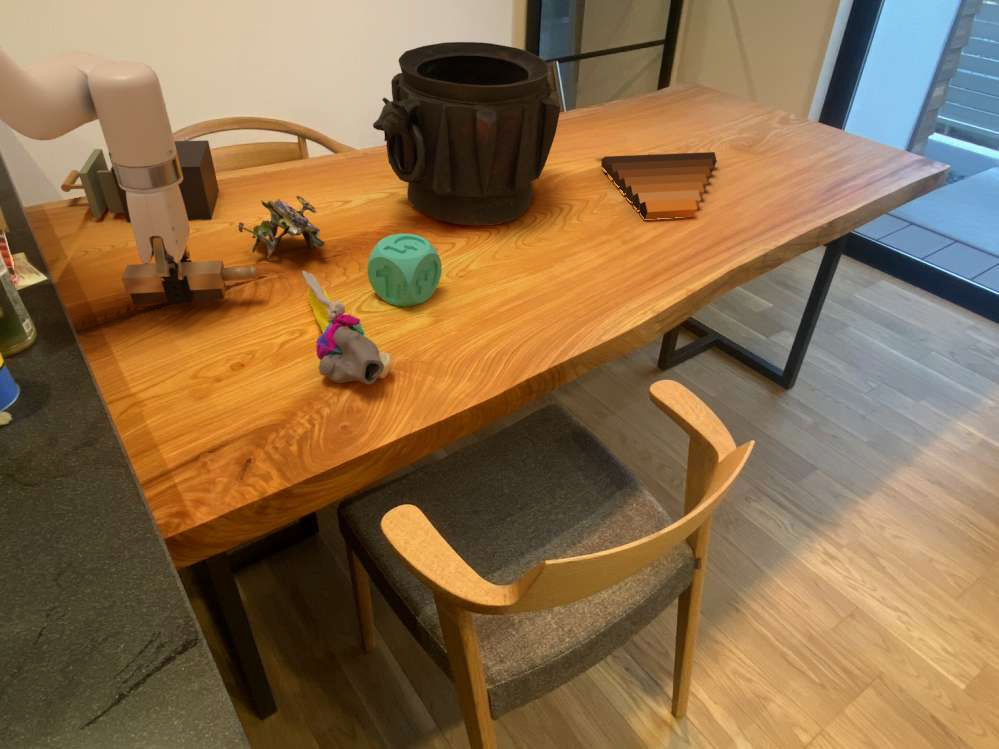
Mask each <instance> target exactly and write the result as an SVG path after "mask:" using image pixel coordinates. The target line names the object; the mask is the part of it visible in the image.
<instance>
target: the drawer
mask: <svg viewBox="0 0 999 749" xmlns="http://www.w3.org/2000/svg"><path fill="white" fill-rule="evenodd" d="M108 156H109V160H110V163H111V167H112V166H113V164H112V161H111V157H110V154H109V153H108ZM78 179H79V180H80V182H81V183H78V184H77V181H78ZM60 189H61V190H62V192H65V193H69V192H71V191H72V190H83V191H84V194H85V197H86V200H87V203H88V206H89V209H90V211H91V214H92V218H102V216H103V215H104V213H105V211H106V209H107V208H108V211H109V213H110V214H125V213H124V209H123V206H122V203H121V200H120V197H119V193H118V190H117V187H116V184H115V181H114V178H113V174H112V171H111V169H109V167H108V164H107V161H106V157H105V155H104V152H103V149H102V148H94V149H93V150H92V152H91V153H90V155H89V156H88V158H87V159H86V162H84V164H83V165H82V167H81V169H79V171H78V170H76V169H72V170H70V172H69V174H68V175H67V176H66V178H65V180H64V181H63V182H62V184H61V185H60Z"/></svg>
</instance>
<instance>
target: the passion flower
mask: <svg viewBox="0 0 999 749" xmlns="http://www.w3.org/2000/svg"><path fill="white" fill-rule="evenodd" d="M296 199H297V200H298V202H299V203H300V204H301V205H302V207H301V210H296V209H295V208H293V207H292V206H291V205H289V204H288V202H284V201H282V200H280V199H279V198H277V199H276V200H274V201H273V200H268V201H267V202H265V200H264V198H263V197H262V198H261V199H260V201H261V205H262V206H263V207H264V208H265V209H267V210H268V211H269V213H270V220H262V221H261V223H260V225H255V226H254V227H253V230H251V229H248V228H246V227H244V226H245V223H244V222H241V221H240V222H238V231H239V232H240V233H243V230H244V231H247V232H249V233H251V234H252V236H251V238H252V239H256V240H255V243H254V244H253V246H252V254H253V253H255V251H256V249H257V247H258V246H259V245H260V243H261V242H262V241H265V242H266V249H267V257H266V259H265V261H266V262H268V261H269V260H270V257H271V255H272V254H273V253H274V252H275V251H276V250H277V249H278V247H279V243H280V241H281V240H282V238H283V237H284V236H285V235H287V234H288V235H289V236H290V237H292V238H293V237H294V236H295V237H296V236H300V235H302V237H303V239H304V241H305V244H306V245H307V246H308V248H310V249H312V250H315V251H318V250H319V248H318V247H323V246H324V245H325V243H326V242H325V241H323V240H322V239H320V235H321V229H320V228H318V227H316V226H314V224H312V223H311V222H310V220H309V218H308V217H306V216H305V215H304V212H306V211H310V212H311V213H314V214H315V213H318V211H317V210H316V208H315V207H314V206H313V205H312V204H311V202H309V201H307V200H306V199H305V198H303V197H301V196H300V195H296ZM278 228H280V229H282V230H283V231H282V232H281V233H280V235H278V236H277V233H278V230H279V229H278ZM276 236H277V237H276ZM266 237H268V239H267V238H266ZM269 239H270V240H269ZM317 246H318V247H317Z"/></svg>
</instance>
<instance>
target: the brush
mask: <svg viewBox="0 0 999 749" xmlns="http://www.w3.org/2000/svg"><path fill="white" fill-rule="evenodd" d="M168 266H169V267H170V268H174V269H176V268H175V263H173V264H168ZM181 266H182V270H183V275H184V276H187V280H188V283H189V287H190V291H191V294H192V298H193V299H192V302H201V301H215V300H216V301H219V300H225V296H226V290H227V286H226V282H230V281H231V282H232V281H247V280H248V281H249V280H256V279H258V278H259V276H260V271H259V268H257V267H256V266H237V267H236V266H235V267H234V266H233V267H225V265H224V260H223V259H221V260H220V259H219V260H217V259H216V260H202V261H201V260H199V261H192V262H181ZM121 282H122V283H123V287H124V290H125V293H126V294H127V295H130V297H131V300H132V304H133V305H134V306H135V305H149V304H150V305H151V304H163V303H166V304H167V303H168V301H167V298H166V295H165V291H164V288H163V285H162V281H161V279H160V277H158V276H157V273H156V265H155V263H150V264H147V265H145V264H143V263H135V264H127V265H126V267H125V269H124V272H123V274H122V276H121ZM168 304H169V303H168Z"/></svg>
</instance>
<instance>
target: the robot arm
mask: <svg viewBox="0 0 999 749" xmlns="http://www.w3.org/2000/svg"><path fill="white" fill-rule="evenodd" d="M157 74H158V73H157V72H156V71H155V70H154V69H153V68H152V67H150V66H149V65H147V64H145V63H142V62H138V61H129V60H123V61H122V60H120V61H119V60H118V61H115V60H111V59H108V58H105V57H102V56H100V55H97V54H93V53H91V52H87V51H80V50H71V51H66V52H62V53H60V54H57V55H54V56H52V57H49V58H46V59H45V58H44V59H42V60H40V61H36V62H35V63H32V64H30V65H26V66H24V67H21V65H19V64H18V63H17V62H16V61H15V60H14V59H13V58H12V57H11V56H10V55H9V54H8V53H7V52H6V51H5V50H4V49H3V48H2V47H1V46H0V121H2V122H3V123H4V124H5V125H6V126H8V127H9V128H10V129H12V130H14V131H15V132H16V133H18V134H20V135H22V136H24V137H26V138H29V139H31V140H36V141H51V140H55V139H58V138H60V137H63V136H65V135H66V134H69V133H70V132H72V131H74V130H77V129H78V128H80V127H82V126H84V125H86V124H89V123H91V122H94V121H98V122H99V126H100V129H101V132H102V135H103V138H104V141H105V144H106V147H107V152H108V155H109V154H110V157H111V160H110V162H111V161H112V163H111V165H112V164H113V167H114V170H115V174H116V177H117V180H118V183H119V186H120V188H122V189H123V190H125V191H126V198H127V205H128V211H129V216H130V220H131V222H130V225H131V228H132V233H133V236H134V240H135V244H136V248H137V251H138V256H139V259H140V262H141V264H145V265H147V264H152V263H151V262H152V260H153V257H154V264H155V265H156V273H157V276H158V277H160V279H161V281H162V285H163V288H164V291H165V295H166V298H167V301H168V304H170V305H173V304H174V305H175V304H191V303H192V302H193V301H192V299H193V298H192V294H191V291H190V287H189V283H188V280H187V276H184V275H183V270H182V266H181V262H193V260H192V259H191V254H190V250H189V248H188V241H189V237H190V230H191V229H190V228H191V227H190V222H189V220H188V217H187V213H186V209H185V205H184V201H183V198H182V194H181V191H180V188H179V184H180V183H181V182H182V181H183V175H182V170H181V166H180V162H179V158H178V154H177V150H176V146H175V142H174V141H175V139H174V135H173V130H172V126H171V123H170V118H169V114H168V110H167V107H166V101H165V99H164V98H165V97H164V94H163V90H162V87H161V83H160V80H159V76H158V75H157ZM110 157H109V158H110ZM173 263H175V268H176V269H174V268H170V267H169V266H168V264H173Z"/></svg>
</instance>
